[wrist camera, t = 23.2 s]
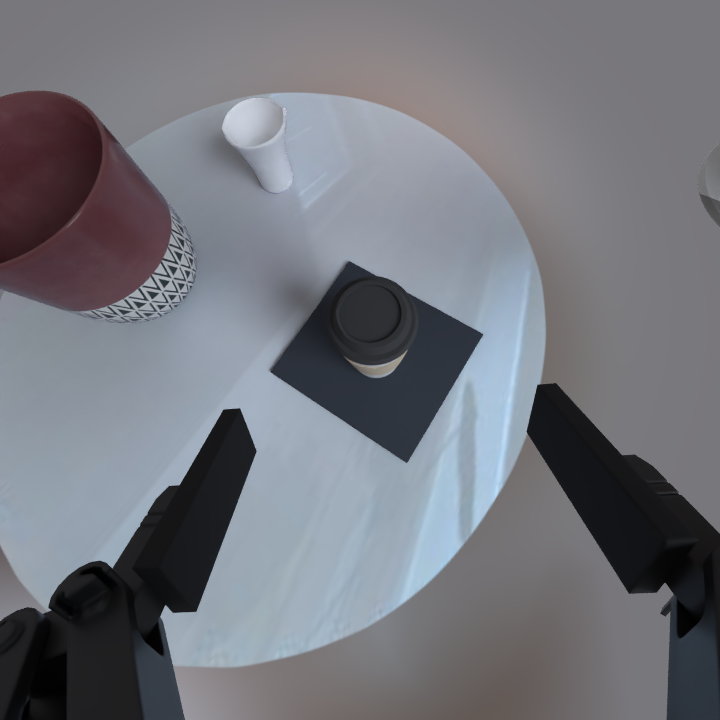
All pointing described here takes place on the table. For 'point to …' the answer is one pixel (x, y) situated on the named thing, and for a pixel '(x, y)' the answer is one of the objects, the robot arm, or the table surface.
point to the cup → (261, 140)
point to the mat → (386, 394)
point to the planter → (84, 217)
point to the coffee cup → (372, 324)
